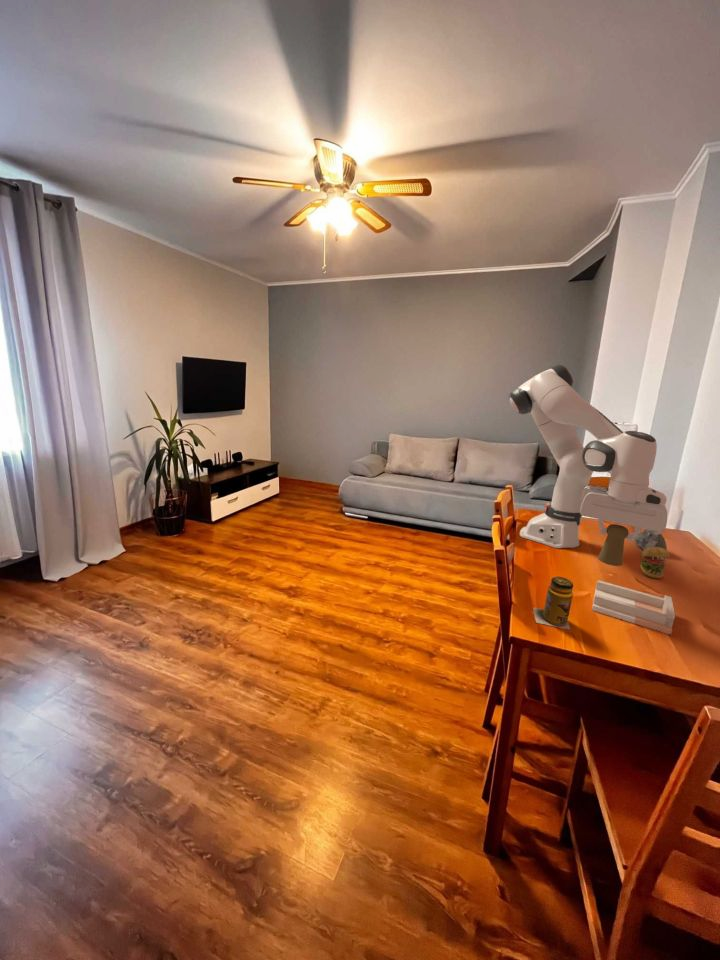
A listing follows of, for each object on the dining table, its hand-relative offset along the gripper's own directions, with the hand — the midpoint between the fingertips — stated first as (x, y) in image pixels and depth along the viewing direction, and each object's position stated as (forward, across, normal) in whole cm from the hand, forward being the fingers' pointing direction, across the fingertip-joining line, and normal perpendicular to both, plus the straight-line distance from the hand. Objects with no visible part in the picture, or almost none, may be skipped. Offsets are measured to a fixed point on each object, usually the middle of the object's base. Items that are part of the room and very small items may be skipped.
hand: (616, 537), depth 109 cm
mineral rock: (+21, +13, +58) cm, 63 cm away
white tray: (+21, +7, 0) cm, 22 cm away
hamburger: (+21, +13, +31) cm, 40 cm away
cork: (+8, 0, 0) cm, 8 cm away
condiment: (+21, -11, -19) cm, 31 cm away
